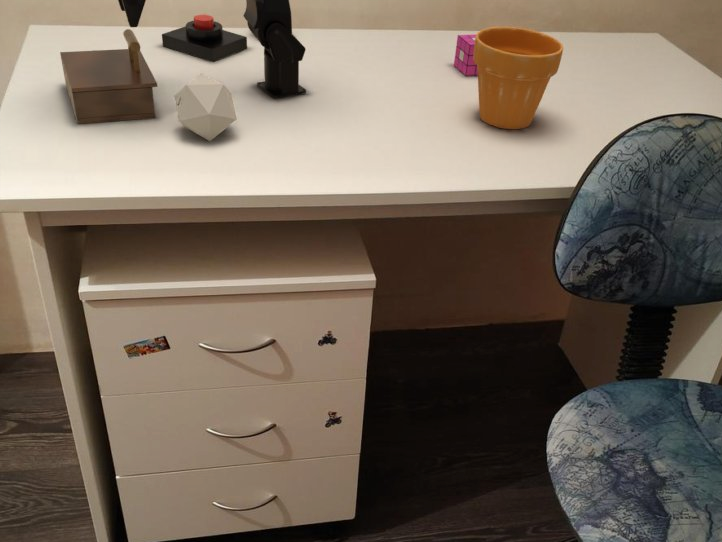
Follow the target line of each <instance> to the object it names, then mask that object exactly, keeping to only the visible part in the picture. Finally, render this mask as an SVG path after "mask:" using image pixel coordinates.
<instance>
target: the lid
mask: <svg viewBox="0 0 722 542" xmlns="http://www.w3.org/2000/svg"><path fill="white" fill-rule="evenodd" d="M122 33H123V34H122V35H123V37H124V40H125V41H126V43H127V44H126V45H127V48H119V49H99V50H98V49H97V50H96V49H95V50H76V51H60V52H59V54H60V59H61V58H62V60H61V63H62V62H63V65H64V68H65V71H66V74H67V78H68V81H69V84H70V87H71V90H72V92H83V91H98V90H114V89H130V88H145V87H152V88H157V87H158V81H156V79H155V76H154V74H153V73H152V71H151V69H150V67H149V65H148V63H147V61H146V59H145V57H144V55H143V53H142V51H141V44H140V42H139V41H138V39H137V36H136V35H135V33H134V31H133V30H132V29H130V28H127V29H125V30H124V31H123V32H122Z"/></svg>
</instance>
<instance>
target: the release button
mask: <svg viewBox="0 0 722 542" xmlns="http://www.w3.org/2000/svg"><path fill="white" fill-rule="evenodd" d="M193 21H194V27H195V28H198V29H211V28H214V21H215V20H214V17H213V16H211V15H209V14H197V15H194V16H193Z"/></svg>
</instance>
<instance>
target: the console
mask: <svg viewBox="0 0 722 542" xmlns="http://www.w3.org/2000/svg"><path fill="white" fill-rule="evenodd" d="M161 41H162V47H164V48H167V49H171V50H173V51H177V52H180V53H183V54H186V55H190V56H193V57H197V58H199V59H203V60H206V61H209V62H212V63H214V62H216V61H219V60H222V59H224V58H228V57H229V56H232V55H235V54H237V53H239V52H243V51H245V50H247V49H248V36H245V35H241V34H239V33H235V32H231V31H228V30H224V28H223V25H222V24H221V23H220V22H219V21H215V20H214V28H211V29H198V28H195V27H194V20H191V21H188V22H186V24H185V25H184V26H182V27H179V28H176V29H173V30H170V31H167V32H164V33H161Z"/></svg>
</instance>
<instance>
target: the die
mask: <svg viewBox="0 0 722 542" xmlns="http://www.w3.org/2000/svg"><path fill="white" fill-rule="evenodd" d="M174 101H175V107H176V113H177V118H178V122H179V123H180V124H181V125H183V126H184V127H185V128H186V129H187V130H188V131H191V132H192V133H194V134H196V135H198V136H200V137H201V138H203V139H205V140H207V141H209V142H211V141H212V140H213V139H215V138H216V137H217V136H219V134H221V133H222V132H223V131H225V129H227V128H228V127H230V125H231V124H233V123H234V122H235V121H236V120H237V119H238V117H237V114H236V107H235V104H234V99H233V94H232V92H231V91H230V90H229V89H228V88H227V86H226V85H225V84H223V83H222V82H220V81H218V80H217V79H214V78H212V77H210V76H208V75H206V74H204V73H200V74H199V75H197V76H196V77H194V79H192V80H191V81H190V82H189V83H187V84H185V86H184V87H182V88H181V89H180V90H179V91H178V92H177V93H176V94H175V95H174Z"/></svg>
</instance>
